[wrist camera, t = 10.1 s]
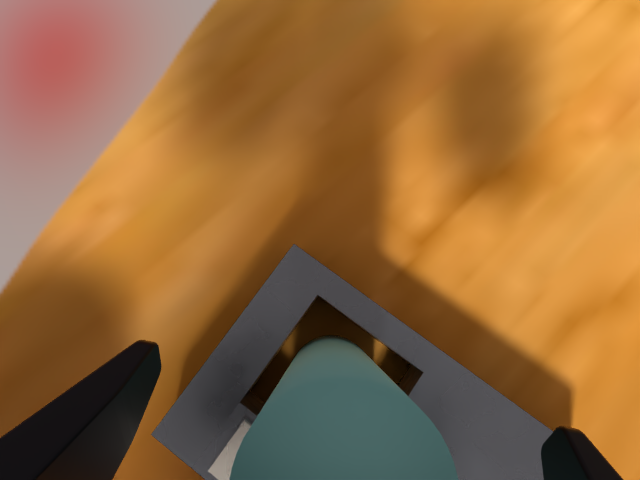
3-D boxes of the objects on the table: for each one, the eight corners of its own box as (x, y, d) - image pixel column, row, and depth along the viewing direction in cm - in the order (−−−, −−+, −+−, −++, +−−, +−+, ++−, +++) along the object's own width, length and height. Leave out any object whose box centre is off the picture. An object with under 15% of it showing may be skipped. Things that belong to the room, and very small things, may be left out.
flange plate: (454, 649, 18) (478, 708, 15) (173, 419, 20) (148, 436, 17) (571, 450, 19) (611, 473, 16) (297, 251, 21) (293, 243, 18)
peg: (385, 399, 20) (502, 565, 7) (309, 435, 19) (281, 678, 7) (351, 322, 20) (398, 339, 7) (276, 355, 20) (193, 434, 7)
